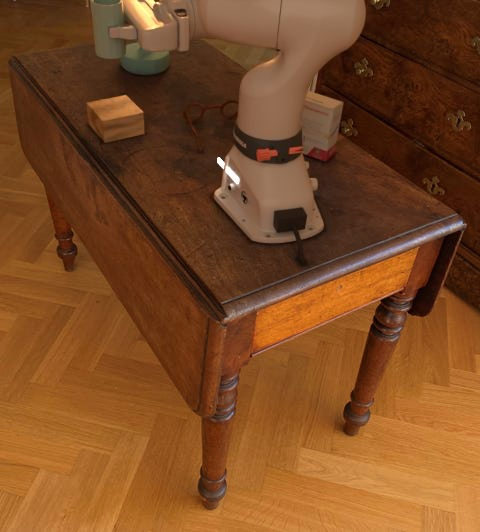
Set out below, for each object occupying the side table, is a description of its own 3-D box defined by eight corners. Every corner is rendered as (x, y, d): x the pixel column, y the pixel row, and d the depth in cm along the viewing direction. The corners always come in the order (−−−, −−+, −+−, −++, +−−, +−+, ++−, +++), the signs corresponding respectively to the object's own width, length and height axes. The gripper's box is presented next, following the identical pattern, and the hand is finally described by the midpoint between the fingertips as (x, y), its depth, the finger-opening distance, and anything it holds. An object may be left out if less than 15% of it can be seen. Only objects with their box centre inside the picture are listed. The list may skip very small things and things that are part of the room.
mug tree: (119, 56, 158) (112, -49, 142) (167, 55, 161) (165, -47, 144) (121, 76, 149) (113, -33, 133) (171, 76, 151) (170, -32, 135)
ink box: (335, 153, 128) (345, 101, 120) (325, 162, 125) (334, 110, 117) (300, 140, 131) (307, 88, 123) (289, 149, 128) (295, 96, 120)
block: (144, 134, 129) (143, 112, 125) (104, 143, 125) (102, 121, 122) (127, 115, 134) (125, 94, 131) (88, 124, 130) (86, 102, 127)
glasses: (239, 117, 137) (240, 96, 134) (258, 146, 128) (260, 124, 125) (182, 123, 133) (182, 102, 130) (198, 153, 124) (199, 131, 121)
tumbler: (128, 57, 118) (125, 4, 111) (97, 60, 116) (92, 6, 109) (122, 46, 122) (119, -6, 115) (93, 48, 120) (88, -5, 113)
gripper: (156, -15, 125) (89, -10, 120) (191, 20, 111) (117, 27, 106) (157, 16, 129) (92, 22, 124) (190, 54, 115) (119, 62, 110)
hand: (103, 25), depth 115 cm, fingers closed on tumbler, 6 cm apart
